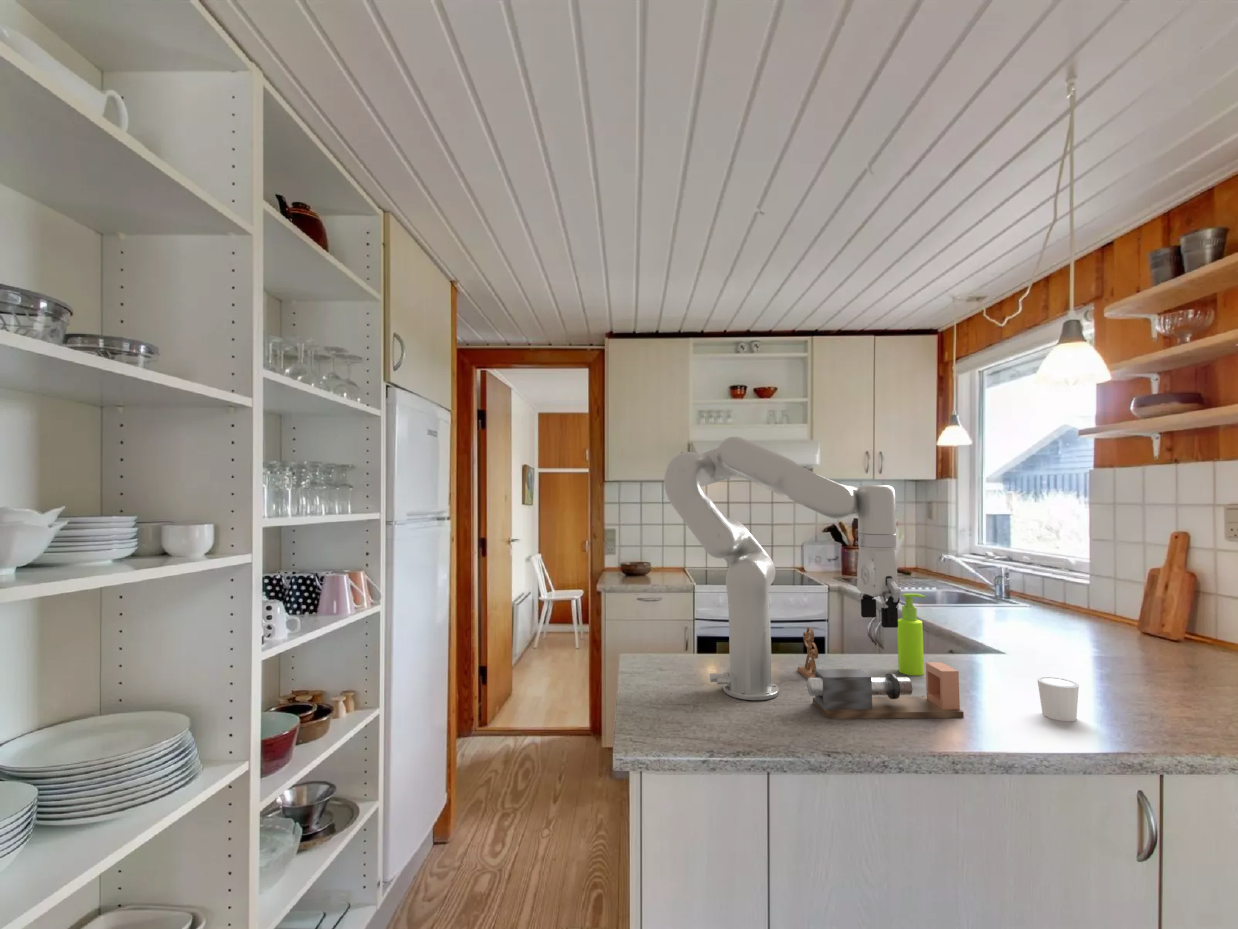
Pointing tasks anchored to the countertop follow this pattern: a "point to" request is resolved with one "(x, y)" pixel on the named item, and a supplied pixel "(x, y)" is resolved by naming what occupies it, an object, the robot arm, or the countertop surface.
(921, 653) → the soap dispenser
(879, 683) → the steel tube
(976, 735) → the countertop surface
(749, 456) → the robot arm
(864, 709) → the stand
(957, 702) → the socket block
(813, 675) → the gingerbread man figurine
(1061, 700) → the white cup
